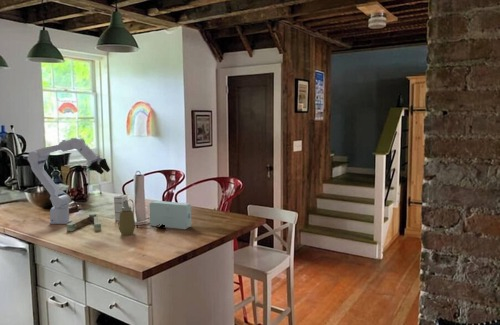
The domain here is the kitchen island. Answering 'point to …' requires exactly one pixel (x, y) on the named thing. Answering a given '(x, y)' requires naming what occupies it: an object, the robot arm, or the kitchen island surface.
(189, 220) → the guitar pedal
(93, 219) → the fixed tong arm
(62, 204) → the robot arm
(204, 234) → the kitchen island surface
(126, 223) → the squeeze bottle
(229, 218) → the kitchen island surface
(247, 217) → the kitchen island surface
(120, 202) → the syrup box
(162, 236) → the kitchen island surface
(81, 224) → the bar
